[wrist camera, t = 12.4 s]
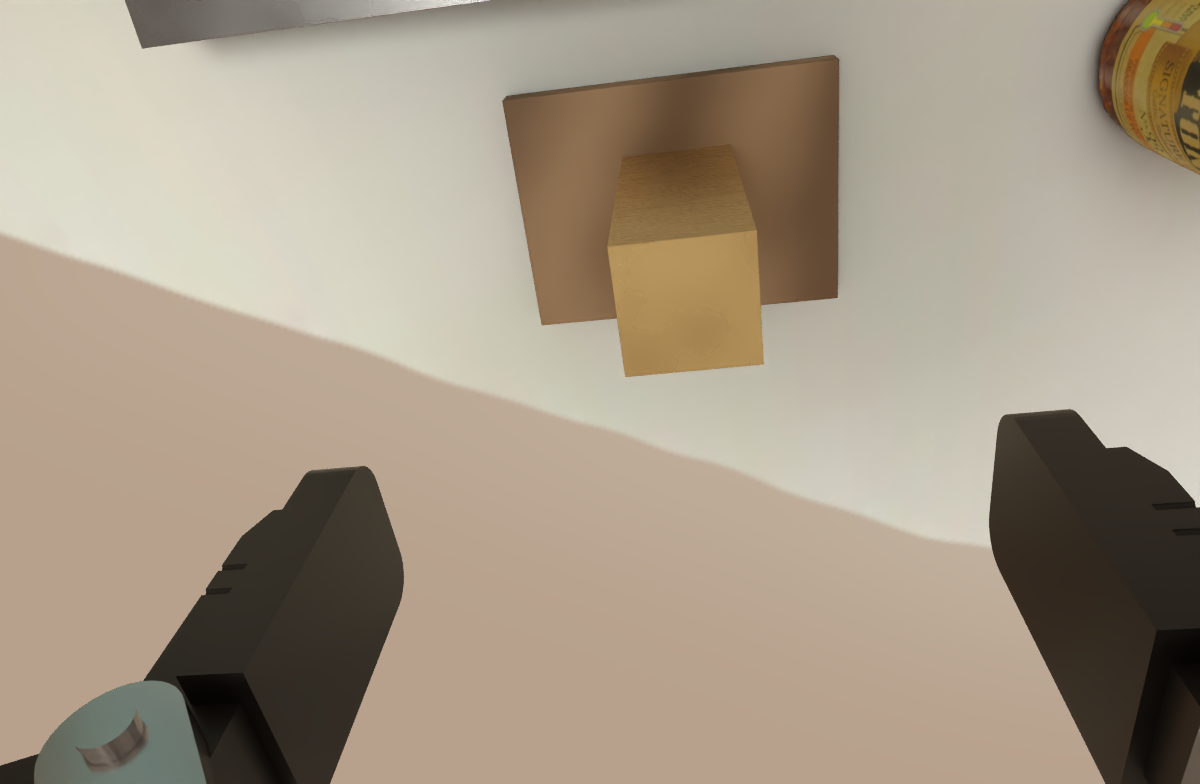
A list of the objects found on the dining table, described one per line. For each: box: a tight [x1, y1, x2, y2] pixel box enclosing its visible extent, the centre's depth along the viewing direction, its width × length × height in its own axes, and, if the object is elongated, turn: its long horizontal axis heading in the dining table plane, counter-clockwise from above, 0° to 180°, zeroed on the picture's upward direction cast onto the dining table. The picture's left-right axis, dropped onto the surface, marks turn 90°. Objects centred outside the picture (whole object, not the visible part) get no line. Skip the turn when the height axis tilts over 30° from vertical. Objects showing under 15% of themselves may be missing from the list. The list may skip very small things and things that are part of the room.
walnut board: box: [502, 55, 839, 325], centre depth 33 cm, size 12×9×1 cm
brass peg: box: [607, 144, 764, 377], centre depth 28 cm, size 4×4×10 cm
